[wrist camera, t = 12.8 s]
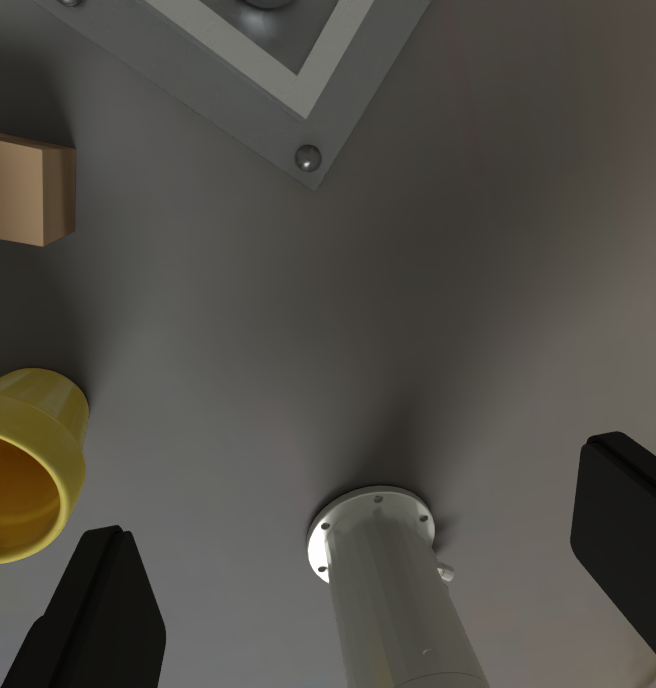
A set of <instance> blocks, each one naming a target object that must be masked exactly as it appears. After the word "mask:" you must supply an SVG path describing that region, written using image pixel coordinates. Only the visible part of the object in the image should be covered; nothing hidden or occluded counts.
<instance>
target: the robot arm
mask: <svg viewBox="0 0 656 688" xmlns="http://www.w3.org/2000/svg"><path fill="white" fill-rule="evenodd" d="M434 536H435V524H434V521H433V518H432V515H431V513H430V511H429V509H428V507H427V505H426V504H425V503H424V502H423V501H422V499H421V498H419V497H418V496H416V495H415V494H414V493H412V492H410V491H407V490H405V489H402V488H398V487H394V486H381V485H380V486H370V487H364V488H361V489H357V490H354V491H351V492H349V493H346V494H344V495H342V496H340V497H339V498H337V499H335V500H334V501H332V502H331V503H330V504H328V505H327V506H326V507H325V508H324V509H322V511H321V512H320V513H319V514H318V515H317V517H316V518H315V519H314V521H313V523H312V525H311V526H310V528H309V532H308V535H307V543H306V548H307V555H308V560H309V562H310V565H311V567H312V569H313V570H314V572H315V573H316V574H317V575H318V576H319V577H320V578H321V579H323V580H324V581H326V582H328V583H329V585H330V591H331V596H332V602H333V607H334V613H335V618H336V624H337V629H338V635H339V640H340V646H341V651H342V657H343V662H344V668H345V674H346V679H347V685H348V688H490V686H489V684H488V682H487V679H486V677H485V675H484V672H483V670H482V668H481V666H480V663H479V661H478V659H477V657H476V654H475V652H474V650H473V648H472V645H471V643H470V641H469V639H468V636H467V634H466V632H465V630H464V627H463V625H462V623H461V621H460V618H459V616H458V614H457V612H456V609H455V607H454V605H453V602H452V600H451V598H450V596H449V588H448V586H447V585H446V584H444V582H443V580H446V581H451V580H452V579H453V577H454V569H453V568H452V567H451V566H448V565H446V564H443V563H439V562H438V560H437V558H436V556H435V554H434V551H433V549H432V547H431V546H432V544H433V541H434ZM570 543H571V547H572V550H573V552H574V554H575V556H576V557H577V559H578V560H579V561H580V563H581V564H582V565H583V566H584V567H585V569H586V570H587V571H588V572H589V574H590V575H591V576H592V577H593V578H594V580H595V581H596V582H597V583H598V584H599V586H600V587H601V588H602V589H603V591H604V592H605V593H606V594H607V595H608V597H609V598H610V599H611V600H612V601H613V603H614V604H615V605H616V606H617V608H618V609H619V610H620V611H621V612H622V614H623V615H624V616H625V617H626V618H627V620H628V621H629V622H630V623H631V625H632V626H633V627H634V628H635V629H636V631H637V632H638V633H639V634H640V635H641V637H642V638H643V639H644V640H645V642H646V643H647V644H648V645H649V646H650V648H651V649H652V650H653V651H654V652H655V654H656V456H655V455H654V454H652V453H651V452H649V451H648V450H647V449H645V448H644V447H642V446H641V445H640V444H638V443H637V442H635V441H634V440H633V439H631V438H630V437H628V436H627V435H626V434H624V433H622V432H618V431H615V432H610V433H605V434H599V435H594V436H591V437H589V438H588V440H587V443H586V444H585V445H583V446H582V448H581V453H580V462H579V470H578V479H577V487H576V495H575V504H574V512H573V521H572V529H571V537H570ZM442 579H443V580H442ZM165 645H166V630H165V625H164V622H163V619H162V616H161V613H160V611H159V608H158V605H157V602H156V599H155V597H154V594H153V591H152V588H151V585H150V582H149V580H148V577H147V574H146V571H145V568H144V566H143V563H142V560H141V557H140V554H139V551H138V549H137V546H136V543H135V540H134V537H133V535H132V533H131V532H130V531H125V532H123V530H122V528H121V527H120V526H119V525H114V526H109V527H104V528H98V529H93V530H88V531H86V532H85V533H84V534H83V535H82V537H81V539H80V541H79V543H78V545H77V547H76V549H75V551H74V553H73V555H72V557H71V559H70V561H69V564H68V566H67V568H66V570H65V572H64V574H63V576H62V578H61V580H60V582H59V584H58V586H57V588H56V590H55V593H54V595H53V597H52V599H51V601H50V603H49V605H48V607H47V609H46V611H45V613H44V615H43V616H41V617H40V618H38V619H37V620H36V621H35V622H34V624H33V625H32V627H31V628H30V630H29V632H28V634H27V636H26V638H25V640H24V642H23V644H22V646H21V648H20V650H19V652H18V654H17V656H16V658H15V660H14V662H13V664H12V666H11V668H10V670H9V672H8V674H7V676H6V678H5V680H4V682H3V684H2V686H1V688H157V687H158V682H159V676H160V671H161V666H162V661H163V656H164V651H165Z"/></svg>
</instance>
